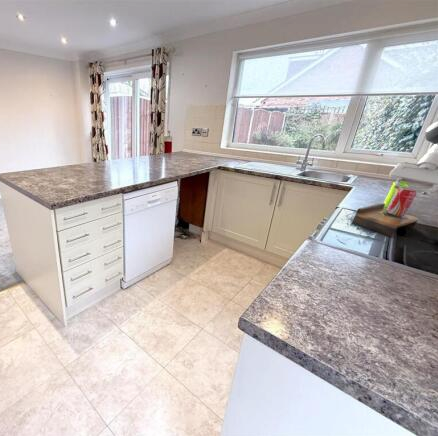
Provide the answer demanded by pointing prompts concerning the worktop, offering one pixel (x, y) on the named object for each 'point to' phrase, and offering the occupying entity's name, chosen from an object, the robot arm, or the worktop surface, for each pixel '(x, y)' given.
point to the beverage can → (401, 201)
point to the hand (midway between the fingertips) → (410, 190)
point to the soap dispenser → (392, 192)
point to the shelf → (382, 220)
